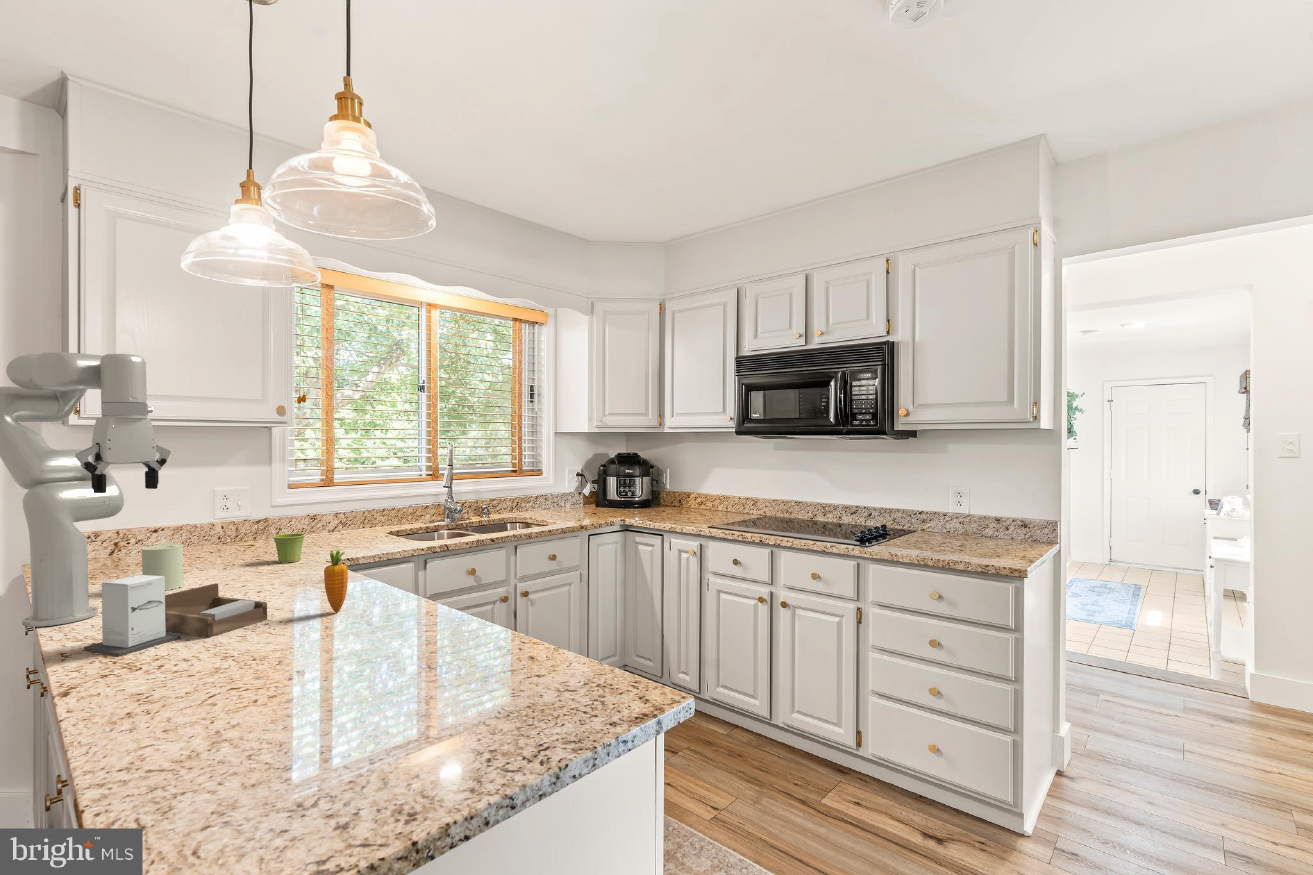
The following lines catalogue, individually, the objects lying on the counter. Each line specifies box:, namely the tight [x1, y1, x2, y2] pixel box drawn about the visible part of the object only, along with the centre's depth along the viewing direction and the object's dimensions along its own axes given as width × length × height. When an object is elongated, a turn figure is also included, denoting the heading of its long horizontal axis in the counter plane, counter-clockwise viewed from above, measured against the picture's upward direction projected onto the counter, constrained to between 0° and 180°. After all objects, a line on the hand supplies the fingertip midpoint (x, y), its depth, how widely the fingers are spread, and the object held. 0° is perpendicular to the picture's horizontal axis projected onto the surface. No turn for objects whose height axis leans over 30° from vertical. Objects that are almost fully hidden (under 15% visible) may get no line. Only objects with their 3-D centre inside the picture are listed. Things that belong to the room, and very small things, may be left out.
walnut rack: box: [165, 583, 268, 639], centre depth 138 cm, size 17×13×7 cm
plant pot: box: [272, 533, 306, 564], centre depth 206 cm, size 9×9×9 cm
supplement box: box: [101, 574, 167, 648], centre depth 126 cm, size 7×7×13 cm
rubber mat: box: [83, 632, 182, 657], centre depth 126 cm, size 11×11×1 cm
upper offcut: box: [200, 599, 256, 621], centre depth 136 cm, size 4×10×2 cm, turn 166°
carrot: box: [323, 549, 349, 614], centre depth 146 cm, size 5×5×15 cm
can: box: [141, 543, 185, 591], centre depth 172 cm, size 9×9×12 cm
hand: (126, 490), depth 135 cm, fingers open, 9 cm apart
